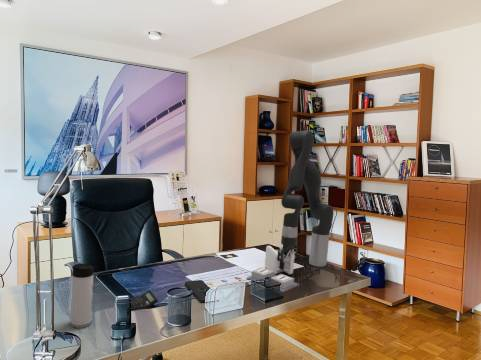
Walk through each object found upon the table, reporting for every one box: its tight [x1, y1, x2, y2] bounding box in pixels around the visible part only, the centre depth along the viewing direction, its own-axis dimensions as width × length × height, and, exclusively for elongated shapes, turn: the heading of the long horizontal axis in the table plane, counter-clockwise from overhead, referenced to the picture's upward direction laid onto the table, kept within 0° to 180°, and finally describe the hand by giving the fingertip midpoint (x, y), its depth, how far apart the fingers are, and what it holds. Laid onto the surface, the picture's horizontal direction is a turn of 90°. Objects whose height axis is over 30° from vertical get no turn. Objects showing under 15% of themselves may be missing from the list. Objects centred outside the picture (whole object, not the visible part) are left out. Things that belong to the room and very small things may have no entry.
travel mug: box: [70, 263, 94, 329], centre depth 121 cm, size 6×7×20 cm
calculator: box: [129, 290, 159, 312], centre depth 140 cm, size 9×12×3 cm
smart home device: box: [184, 279, 211, 304], centre depth 155 cm, size 8×2×20 cm
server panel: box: [246, 267, 300, 294], centre depth 172 cm, size 13×20×4 cm, turn 50°
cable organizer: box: [264, 245, 295, 276], centre depth 187 cm, size 15×11×12 cm
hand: (286, 267), depth 183 cm, fingers open, 8 cm apart
